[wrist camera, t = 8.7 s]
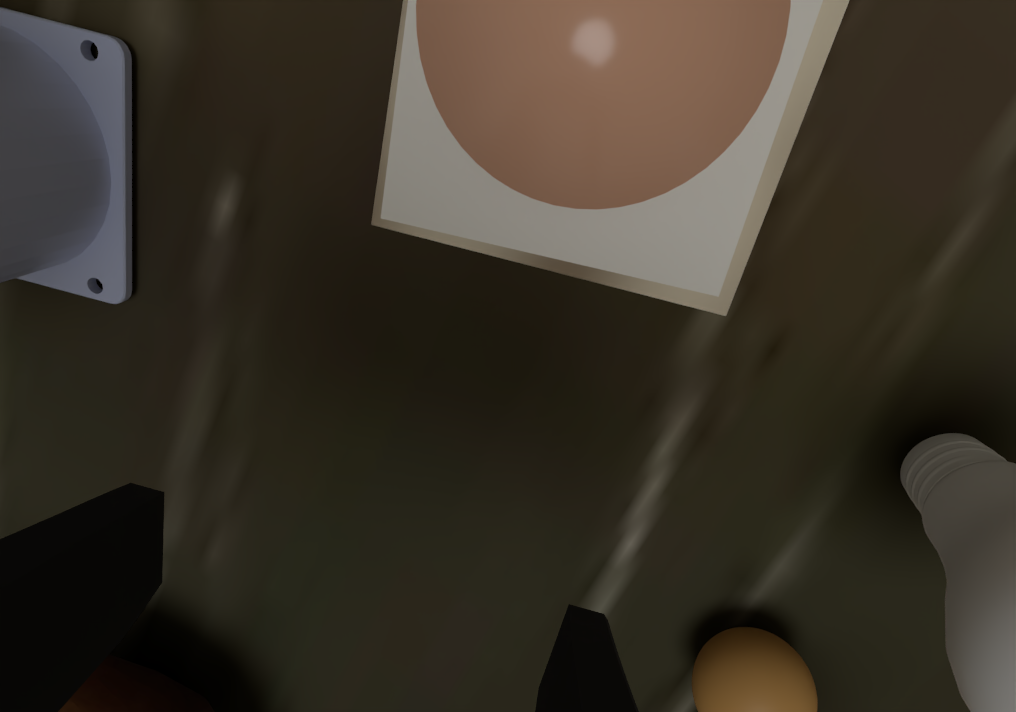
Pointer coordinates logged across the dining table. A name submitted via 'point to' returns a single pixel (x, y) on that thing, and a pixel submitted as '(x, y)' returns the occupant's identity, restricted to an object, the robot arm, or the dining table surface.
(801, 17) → the cream slab
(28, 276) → the robot arm
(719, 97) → the terracotta cylinder
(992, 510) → the lightbulb
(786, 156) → the birch slab
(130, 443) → the dining table surface
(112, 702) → the butternut squash
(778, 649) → the figurine
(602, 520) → the dining table surface
